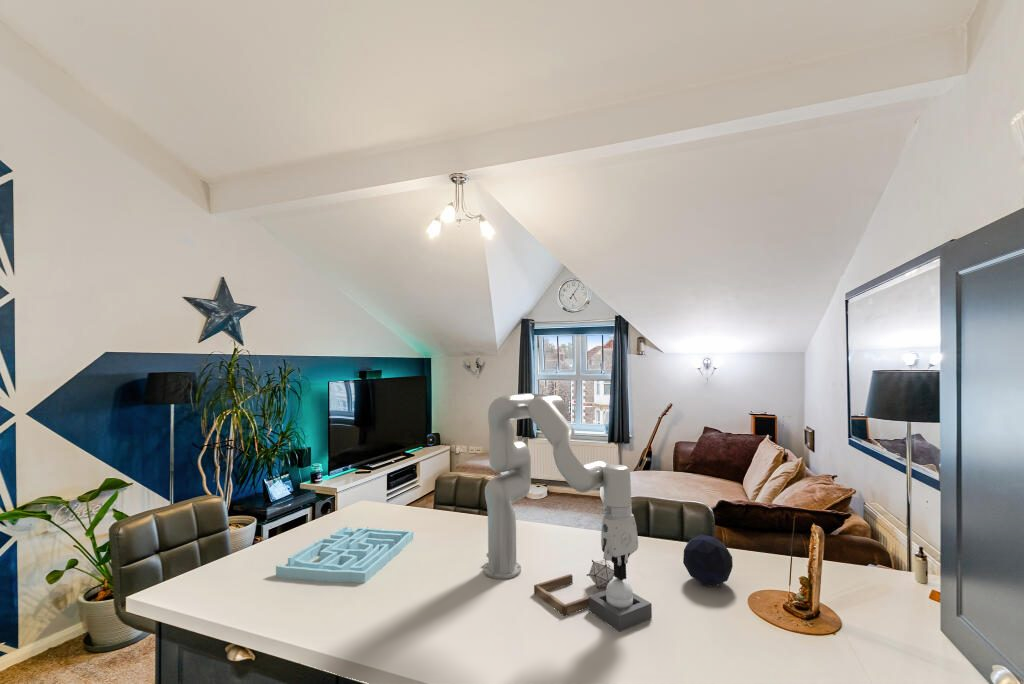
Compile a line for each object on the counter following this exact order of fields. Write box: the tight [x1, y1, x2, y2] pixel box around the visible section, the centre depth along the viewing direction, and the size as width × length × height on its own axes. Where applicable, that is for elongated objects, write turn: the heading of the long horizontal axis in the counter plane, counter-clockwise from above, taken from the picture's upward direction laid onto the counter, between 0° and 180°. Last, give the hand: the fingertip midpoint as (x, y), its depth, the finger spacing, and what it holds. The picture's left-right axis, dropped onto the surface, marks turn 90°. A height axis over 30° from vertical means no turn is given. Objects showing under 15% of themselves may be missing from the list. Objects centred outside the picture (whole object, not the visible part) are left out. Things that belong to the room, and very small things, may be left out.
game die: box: [586, 559, 615, 590], centre depth 144 cm, size 9×8×10 cm
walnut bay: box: [533, 573, 601, 617], centre depth 137 cm, size 15×14×2 cm
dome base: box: [588, 590, 653, 632], centre depth 128 cm, size 12×12×4 cm
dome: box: [605, 577, 634, 610], centre depth 128 cm, size 7×7×7 cm
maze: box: [275, 525, 414, 584], centre depth 170 cm, size 40×33×4 cm
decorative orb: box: [682, 534, 734, 587], centre depth 146 cm, size 14×15×15 cm
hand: (620, 577), depth 128 cm, fingers closed
